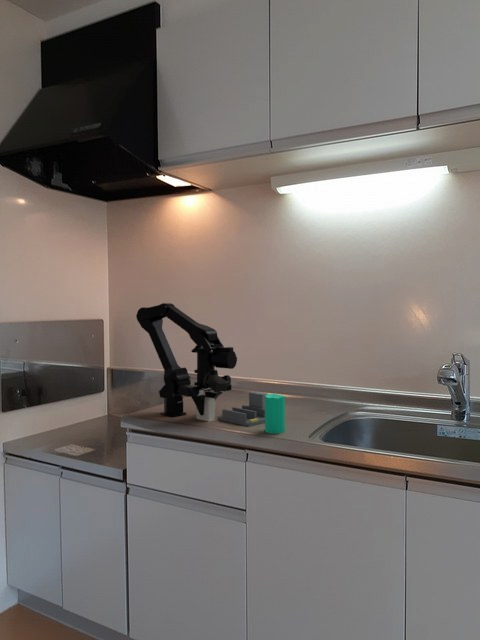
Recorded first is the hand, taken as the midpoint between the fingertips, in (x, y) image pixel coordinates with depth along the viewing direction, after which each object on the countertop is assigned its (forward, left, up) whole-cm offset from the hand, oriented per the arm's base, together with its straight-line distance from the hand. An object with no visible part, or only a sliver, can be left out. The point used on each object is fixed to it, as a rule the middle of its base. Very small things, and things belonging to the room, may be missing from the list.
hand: (205, 414), depth 162 cm
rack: (+10, +10, -2) cm, 14 cm away
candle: (+26, +4, -2) cm, 26 cm away
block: (0, 0, -2) cm, 2 cm away
